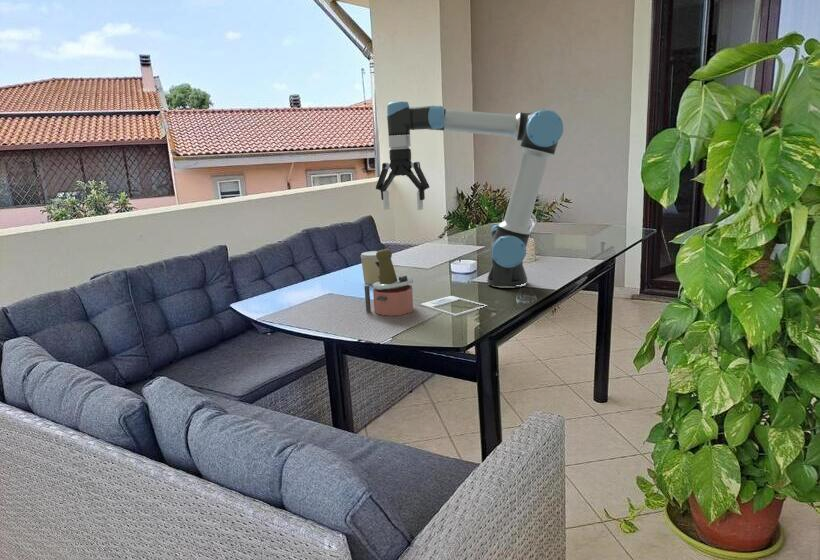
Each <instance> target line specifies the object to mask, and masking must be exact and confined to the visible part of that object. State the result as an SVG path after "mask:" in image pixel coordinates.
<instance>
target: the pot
mask: <svg viewBox="0 0 820 560" xmlns="http://www.w3.org/2000/svg"><path fill="white" fill-rule="evenodd" d="M379 281H380V279H379ZM372 291H373V292H372V295H373V296H372V297H373V311H374V313H375V312H376V313H375V314H377V313H378V314H377V315H379V314H381V315H380V316H384V315H390V316H389V317H392V316H391V315H398V316H402V314H403V315H407V314H406V313H408V314H410V313H411V312H413V311H414V298H413V286H412V285H411V284H409V285H406V286H402V287H398V288H393V289H385V290H376V289H373V288H372ZM370 295H371V294H370V284H366V285H364V297H365V299H364V300H365V311H370V312H371V311H372V309H371V296H370ZM409 312H410V313H409Z"/></svg>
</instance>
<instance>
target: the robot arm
mask: <svg viewBox="0 0 820 560" xmlns="http://www.w3.org/2000/svg"><path fill="white" fill-rule="evenodd" d="M386 108H387V111H386V114H387V116H386V118H387V119H386V120H387V121H386V122H387V130H388V131H387V135H388V148H390V149H389V150H388V152H389V160H390V161H389V162H383V163H382V164H381V167H382V168H381V171H380V174H379V177H378V180H377V183H376V186H375V189H376V190H377V191H380V195H381V197H380V199H381V201H383V210H384V211H386V210H389V209H390V195H389V193H390V192H389V190H387V189H388V188H389V187H390V185H391V184H392V182H393V180H394V179H395V178H396V177H397V176H402V177H403V176H404V177H405V176H406V177H407V178H408V179H409V180H410V181H411V182H412V184H413V185H414V186H415V187H416V189H417V191H416V200H417V201H416V202H417V210H418V211H421V210H423V209H424V204H423V203H424V202H423V201H424V200H425V197H426V196H425V191H426V190H427V189H429V188H430V185H429V182H428V180H427V179H426V176H425V175H424V172H423V170H422V168H421V162H420V161H415V162H412V150H411V149H412V148H410V147H412V146H411V131H417V130H428V131H429V130H430V131H441V132H442V131H445V132H455V133H467V134H478V135H488V136H489V135H490V136H497V137H498V136H500V137H508V138H509V137H510V138H514V140H515V141H521V144H520V146H519V147H520V149H521V151H522V156H521V159H520V163H519V166H518V169H517V174H516V177H515V181H514V184H513V187H512V190H511V194H510V197H509V202H508V204H507V209H506V212H505V215H504V218H503V221H501V222H499V223H497V224H496V225H493V226H492V227H491V230H490V236H491V237H490V238H491V242H490V244H491V248H490V249H491V250H490V251H491V252H490V253H491V267H490V269H489V273H488V275H487V277H486V279H487V280H486V281H487V283H488V284H490V285H494V286H516V285H521V284H524V283H526V282H527V283H528V276H527V273H526V271H525V267H524V265H523V263H524V262H523V261H524V260H525V258H526V255H527V246H528V242H529V239H530V236H531V231H530V230H529V224H530V221H531V217H532V214H533V210H534V207H535V204H536V201H537V198H538V194H539V191H540V187H541V184H542V181H543V177H544V174H545V171H546V167H547V164H548V160H550V158H552V157H553V156H555V153H556V150H557V147H558V144H559V141H560V140H561V137H562V136H563V133H564V123H563V119H562V117H561V116H560V115H559V114H558V113H557V112H555V110H550V109H546V108H544V109H543V108H542V109H539V110H537V111H535V112H519V113H517V114H509V113H508V114H507V113H506V114H505V113H495V112H483V111H474V110H473V111H471V110H459V109H447V108H446V109H445V108H444V107H443V106H442V105H425V106H410V104H409V102H408V101H392V102H389V103H388V104H387V107H386ZM412 168H413V169H414V171H415V174H416V175H415V174H414V172H413V170H412ZM389 170H391V171H390V172H389V174H388V171H389ZM386 177H387V178H386Z"/></svg>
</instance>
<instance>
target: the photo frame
mask: <svg viewBox="0 0 820 560" xmlns="http://www.w3.org/2000/svg"><path fill="white" fill-rule="evenodd" d="M458 300H459V301H462V300H463V302H466V301H467V302H466V303H469V302H471V303H470V304H473V303H475V304H474V305H476V304H479V305H478V306H477V307H474V308H471V309H468V310H465V311H461V312H457V313H453V312H451V311H447V310H443V309H439V308H437V307H440V306H445V305H448V304H451V303H455V302H458ZM480 305H484V306H480ZM419 306H420V307H423V308H426V307H427V309H431V310H433V311H436V312H440V313H443V314H447V315H449V316H453V317H459V316H462V315H465V314H468V313H469V314H470V313H471V312H474V311H478V310H481V309H480V308H482V309H484V308H483V307H485V306H487V307H488V304H485V303H482V302H477V301H473V300H469V299H465V298H462V297H457V296H454V295H449V296H445V297H441V298H438V299H437V298H436V299H434V300H430V301H427V302H422V303H419ZM485 308H486V307H485ZM477 309H478V310H477Z"/></svg>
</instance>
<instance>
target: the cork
mask: <svg viewBox="0 0 820 560" xmlns="http://www.w3.org/2000/svg"><path fill="white" fill-rule="evenodd" d="M377 251H378V252H377V253H376V257H377V259H378V260H379V277H380V284H388V283H393V282H396V281H397V274H396V270H395V267H394V265H393V261H392V255H393V254H392V253H393V252H392V250H390V249H388V248H384V249H379V250H377Z"/></svg>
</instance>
